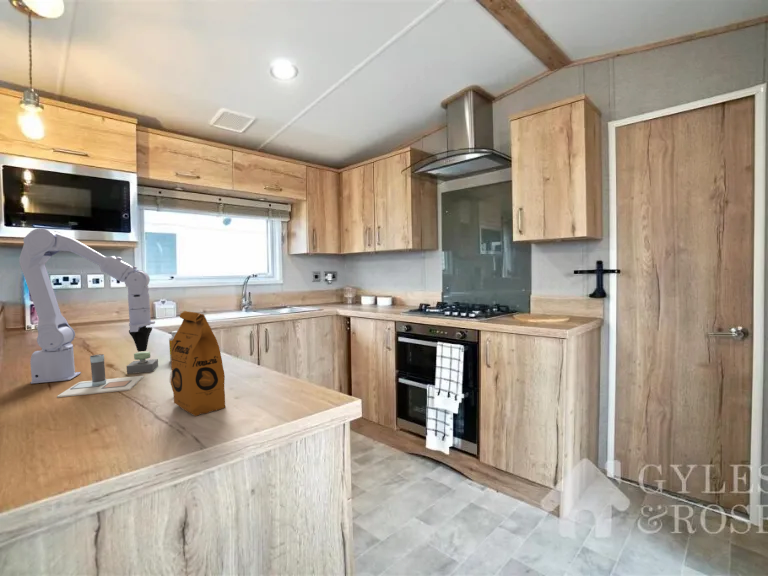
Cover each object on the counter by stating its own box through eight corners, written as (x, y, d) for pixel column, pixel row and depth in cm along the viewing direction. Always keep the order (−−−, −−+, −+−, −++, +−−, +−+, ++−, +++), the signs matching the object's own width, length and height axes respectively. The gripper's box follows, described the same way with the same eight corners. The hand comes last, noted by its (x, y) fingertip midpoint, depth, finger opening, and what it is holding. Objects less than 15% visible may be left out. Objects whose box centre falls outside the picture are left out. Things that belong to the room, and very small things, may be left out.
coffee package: (185, 420, 82) (179, 316, 80) (168, 406, 91) (163, 312, 90) (232, 408, 89) (227, 311, 87) (212, 395, 98) (208, 308, 96)
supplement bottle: (171, 362, 133) (169, 333, 132) (169, 359, 138) (167, 331, 137) (189, 360, 136) (187, 331, 136) (187, 357, 141) (185, 329, 140)
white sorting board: (57, 397, 99) (57, 395, 99) (79, 383, 111) (79, 381, 111) (129, 390, 104) (129, 388, 104) (143, 376, 116) (143, 375, 116)
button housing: (127, 373, 120) (126, 366, 120) (134, 368, 127) (133, 361, 127) (152, 371, 122) (152, 363, 122) (158, 366, 129) (157, 358, 129)
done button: (132, 368, 122) (132, 355, 121) (137, 364, 126) (136, 352, 126) (148, 366, 123) (148, 353, 123) (152, 363, 127) (151, 351, 127)
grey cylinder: (90, 386, 106) (88, 357, 106) (94, 383, 109) (92, 355, 109) (103, 384, 107) (101, 356, 107) (107, 381, 110) (105, 353, 110)
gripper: (147, 310, 118) (150, 354, 118) (159, 305, 131) (161, 345, 132) (120, 311, 115) (123, 356, 116) (135, 306, 129) (138, 347, 130)
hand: (142, 351), depth 124 cm, fingers closed
